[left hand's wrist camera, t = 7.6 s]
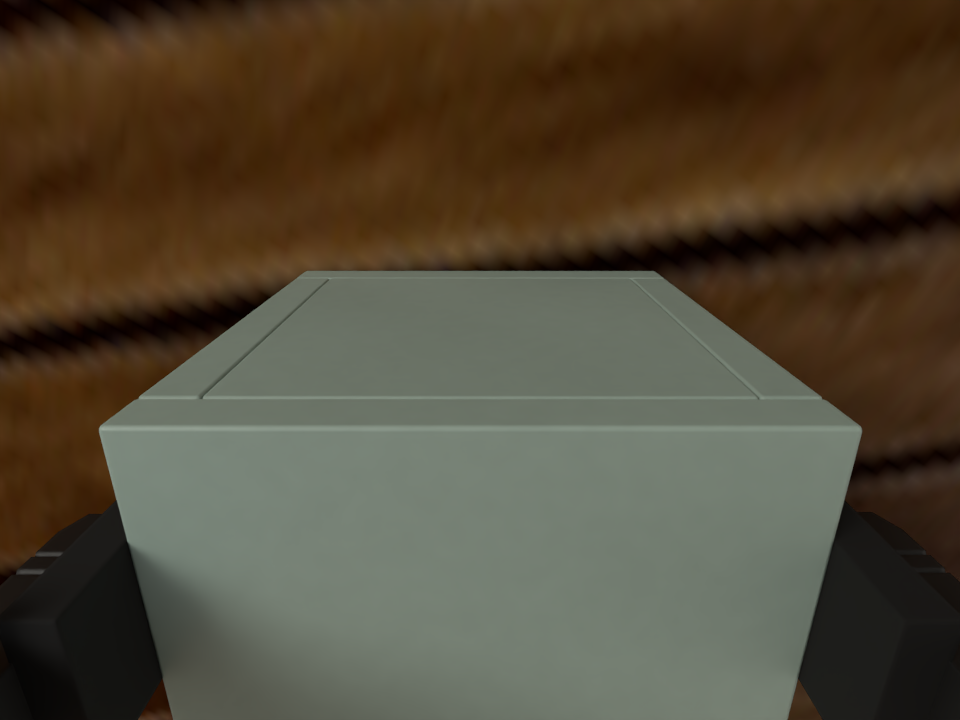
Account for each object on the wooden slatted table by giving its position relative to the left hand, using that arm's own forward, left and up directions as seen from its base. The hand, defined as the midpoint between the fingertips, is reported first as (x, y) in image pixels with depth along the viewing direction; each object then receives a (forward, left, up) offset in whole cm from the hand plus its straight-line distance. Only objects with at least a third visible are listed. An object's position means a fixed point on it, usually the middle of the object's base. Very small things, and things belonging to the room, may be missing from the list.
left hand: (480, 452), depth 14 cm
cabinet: (+1, +5, -5) cm, 7 cm away
